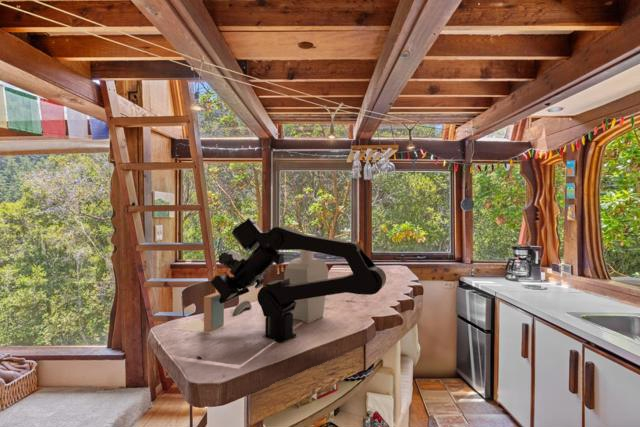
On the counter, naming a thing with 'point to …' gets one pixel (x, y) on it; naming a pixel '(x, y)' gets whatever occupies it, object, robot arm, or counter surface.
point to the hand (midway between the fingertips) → (220, 302)
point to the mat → (196, 327)
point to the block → (213, 312)
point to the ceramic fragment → (240, 307)
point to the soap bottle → (302, 273)
